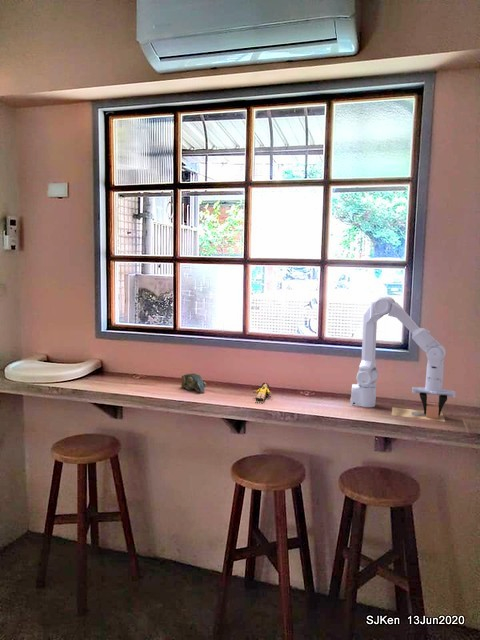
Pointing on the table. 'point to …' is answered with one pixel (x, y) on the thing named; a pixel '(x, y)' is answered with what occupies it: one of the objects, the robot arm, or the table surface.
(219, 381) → the table surface
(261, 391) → the toy
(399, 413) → the board
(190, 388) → the sculpture
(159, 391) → the table surface
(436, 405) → the block
